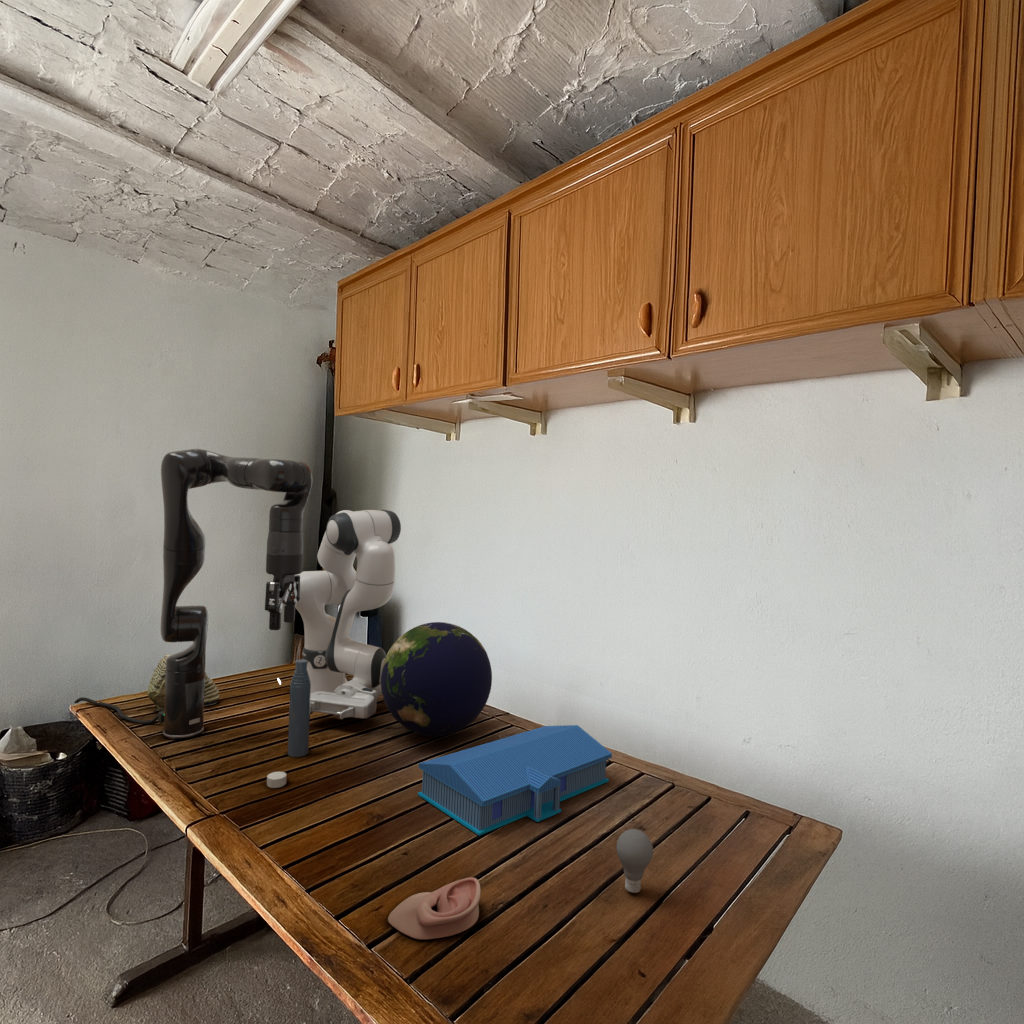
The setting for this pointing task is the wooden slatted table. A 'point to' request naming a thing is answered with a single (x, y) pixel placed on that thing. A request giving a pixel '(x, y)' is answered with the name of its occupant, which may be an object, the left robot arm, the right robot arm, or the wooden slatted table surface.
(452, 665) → the globe
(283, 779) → the cap
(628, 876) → the light bulb
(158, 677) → the fossil
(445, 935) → the anatomical model
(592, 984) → the wooden slatted table surface
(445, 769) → the model building
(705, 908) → the wooden slatted table surface
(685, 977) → the wooden slatted table surface
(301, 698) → the bottle
